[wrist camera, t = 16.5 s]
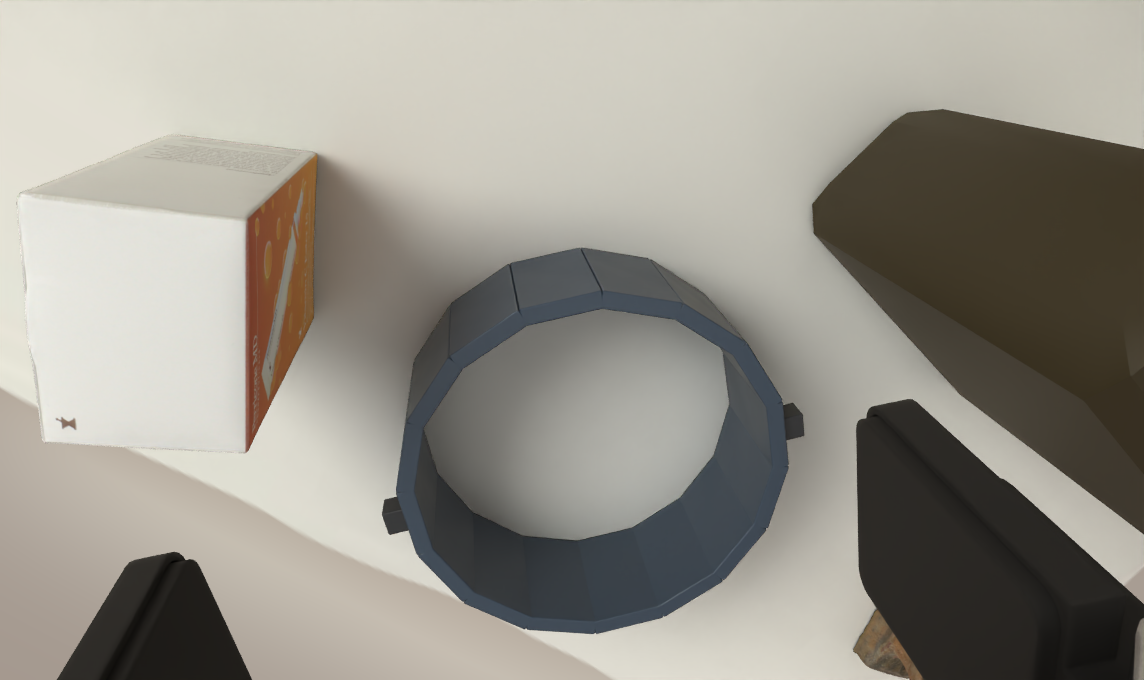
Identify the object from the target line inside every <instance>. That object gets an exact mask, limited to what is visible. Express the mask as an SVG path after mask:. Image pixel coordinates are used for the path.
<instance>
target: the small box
mask: <svg viewBox="0 0 1144 680" xmlns="http://www.w3.org/2000/svg"><path fill="white" fill-rule="evenodd" d="M316 175H317V154H316V153H315V152H309V151H301V150H293V149H285V148H277V147H269V146H261V145H253V144H245V143H237V142H229V141H221V140H213V139H206V138H198V137H190V136H182V135H173V134H171V135H167V136H164V137H161V138H159V139H156V140H153V141H151V142H148V143H146V144H143V145H140V146H138V147H135V148H133V149H131V150H128V151H125V152H123V153H120V154H118V155H116V156H113V157H111V158H109V159H106V160H104V161H101V162H98V163H96V164H93V165H90V166H88V167H85V168H83V169H80V170H78V171H75V172H73V173H70V174H68V175H65V176H63V177H61V178H58V179H56V180H53V181H50V182H48V183H45V184H42V185H40V186H37V187H35V188H32V189H29V190H26V191H23V192H20V193H19V195H18V196H17V202H16V203H17V215H18V228H19V238H20V251H21V261H22V270H23V282H24V292H25V321H26V330H27V339H28V344H29V351H30V357H31V360H32V365H33V371H34V379H35V386H36V394H37V403H38V409H39V418H40V427H41V436H42V440H43V442H45V443H65V444H81V445H97V446H113V447H131V448H149V449H169V450H190V451H208V452H231V453H246V452H248V451H249V448H250V446H251V444H252V442H253V440H254V437H255V435H256V433H257V431H258V429H259V427H260V425H261V423H262V421H263V419H264V417H265V415H266V413H267V411H268V409H269V407H270V405H271V403H272V401H273V399H274V397H275V395H276V393H277V391H278V389H279V387H280V385H281V383H282V381H283V379H284V377H285V375H286V373H287V371H288V369H289V367H290V365H291V363H292V361H293V358H294V356H295V354H296V352H297V350H298V348H299V346H300V344H301V343H302V341H303V339H304V337H305V335H306V333H307V331H308V329H309V327H310V325H311V323H312V320H313V318H314V305H313V267H314V226H315V200H316Z"/></svg>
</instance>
